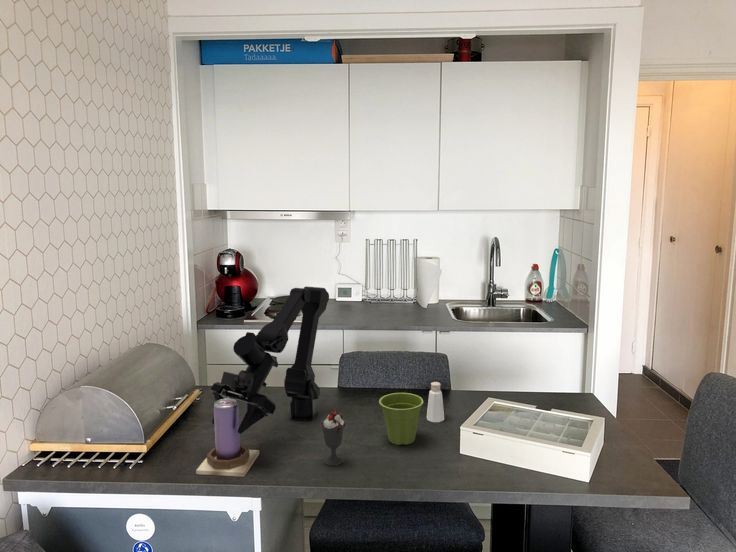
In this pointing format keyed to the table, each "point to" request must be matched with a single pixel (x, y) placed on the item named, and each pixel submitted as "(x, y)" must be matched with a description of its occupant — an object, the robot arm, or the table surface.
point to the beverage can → (227, 429)
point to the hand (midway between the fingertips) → (226, 428)
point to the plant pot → (401, 416)
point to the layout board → (228, 463)
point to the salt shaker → (435, 404)
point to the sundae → (333, 436)
